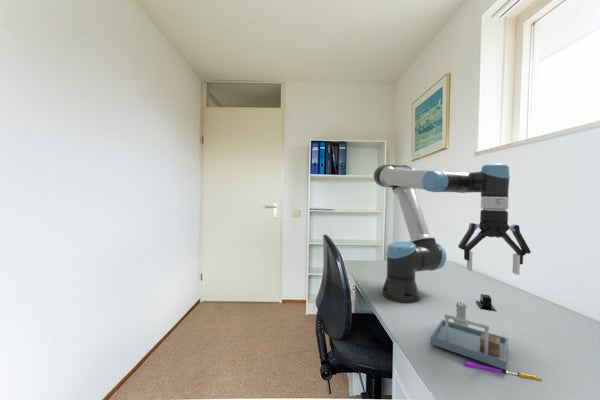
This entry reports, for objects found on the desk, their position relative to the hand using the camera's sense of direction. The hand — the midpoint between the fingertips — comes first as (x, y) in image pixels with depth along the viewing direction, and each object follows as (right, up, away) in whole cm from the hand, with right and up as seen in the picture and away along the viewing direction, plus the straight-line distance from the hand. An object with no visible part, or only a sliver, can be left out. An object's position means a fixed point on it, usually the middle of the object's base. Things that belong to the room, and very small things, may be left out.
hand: (492, 271), depth 87 cm
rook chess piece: (-12, -18, -2) cm, 22 cm away
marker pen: (-16, -19, -23) cm, 34 cm away
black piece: (+9, -19, +16) cm, 26 cm away
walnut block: (-15, -16, -19) cm, 30 cm away
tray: (-17, -18, -14) cm, 29 cm away
